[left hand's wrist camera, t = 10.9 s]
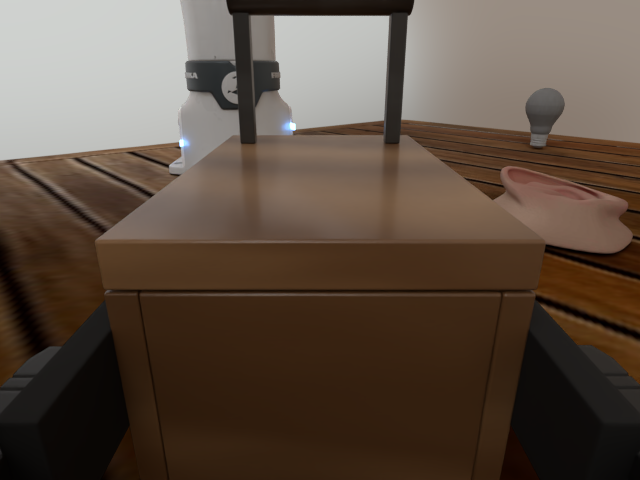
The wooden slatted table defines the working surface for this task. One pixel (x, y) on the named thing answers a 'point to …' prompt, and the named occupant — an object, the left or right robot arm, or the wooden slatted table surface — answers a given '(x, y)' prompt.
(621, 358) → the wooden slatted table surface
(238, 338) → the chest
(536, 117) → the light bulb
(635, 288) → the wooden slatted table surface
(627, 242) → the anatomical model
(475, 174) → the wooden slatted table surface
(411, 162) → the lid
